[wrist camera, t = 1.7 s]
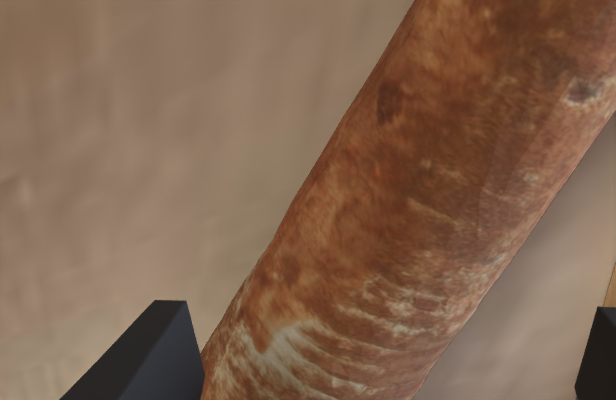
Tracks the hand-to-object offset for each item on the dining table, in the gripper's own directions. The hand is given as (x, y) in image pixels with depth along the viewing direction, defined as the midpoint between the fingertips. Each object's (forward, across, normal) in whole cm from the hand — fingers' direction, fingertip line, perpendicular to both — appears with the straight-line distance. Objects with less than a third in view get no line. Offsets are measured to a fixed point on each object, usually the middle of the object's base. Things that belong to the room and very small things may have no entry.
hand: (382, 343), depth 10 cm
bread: (+7, 0, 0) cm, 7 cm away
